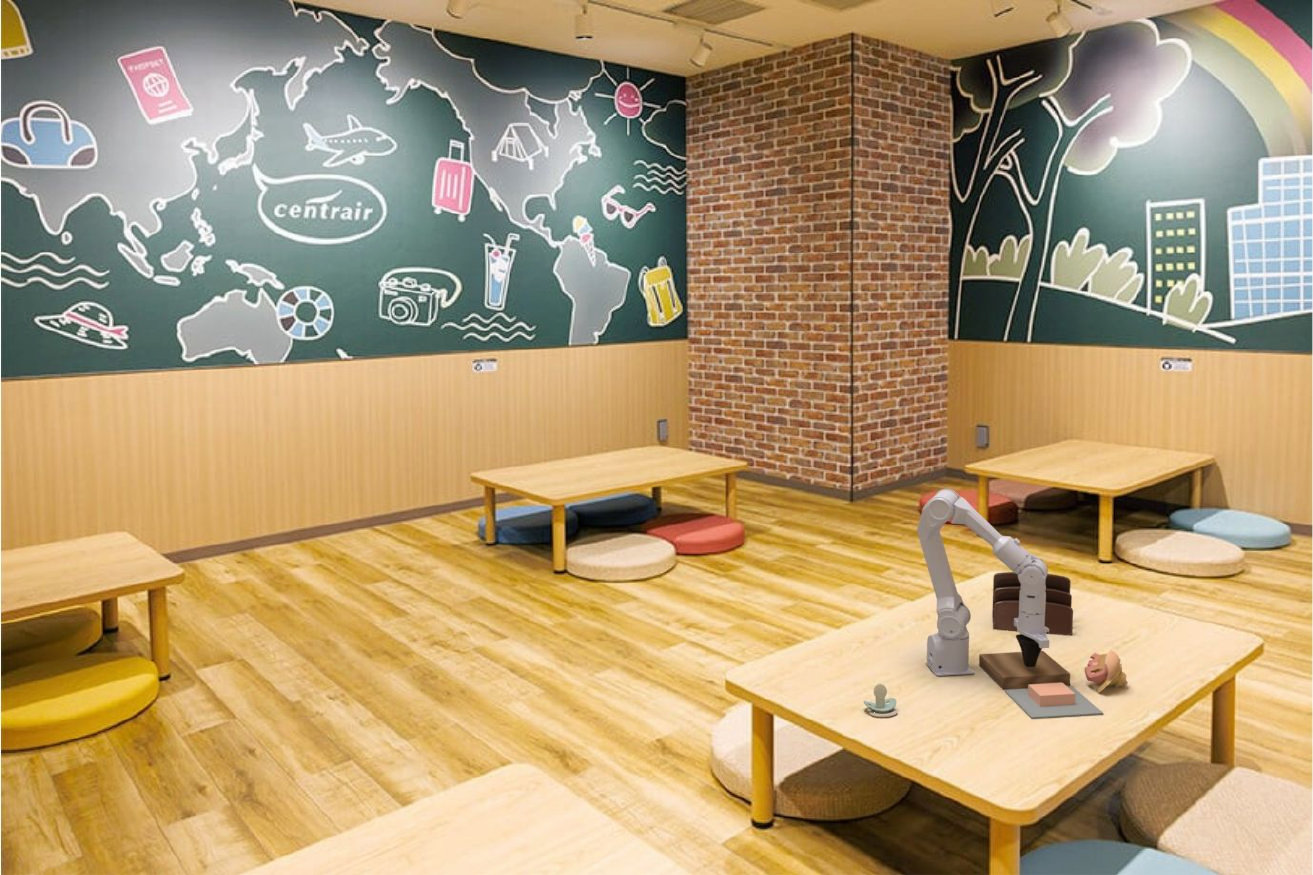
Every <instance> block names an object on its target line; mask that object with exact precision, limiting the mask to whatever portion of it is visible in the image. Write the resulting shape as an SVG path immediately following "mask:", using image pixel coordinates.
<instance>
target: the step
mask: <svg viewBox="0 0 1313 875" xmlns="http://www.w3.org/2000/svg"><path fill="white" fill-rule="evenodd" d="M978 659H979V660H978V665H979V667H980V668H981V669H982V670H983V671H984V673H986V675H988V676H989V677H990V679H992V680H993V682H994V683H995V684H997V686H999V687H1000V688H1001V689H1002V690H1003V691H1005V690H1013V689H1028V685H1029V684H1046V683H1063V684H1065V685H1066V686H1071V673H1070V672H1069V671H1068V670H1067V669H1066V668H1064V666H1062V665H1061V664H1060V663H1058V662H1057V661H1056V660H1055V659H1053V658H1052V656H1050V655H1049V654H1047V653H1046V651H1044V650H1041V652H1040V654H1039V656H1038V659H1037V663H1036V665H1035V667H1026V666H1025V665H1024V661H1023V656H1022V651H1015V652H996V653H994V652H993V653H979V658H978Z"/></svg>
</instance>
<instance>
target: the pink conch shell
mask: <svg viewBox="0 0 1313 875" xmlns="http://www.w3.org/2000/svg"><path fill="white" fill-rule="evenodd" d="M1089 658H1090V659H1091V660H1090V659H1089V660H1088V663H1087V666H1085V667H1084V675H1085V678H1086V679H1087V681H1088V682H1093V683H1094V684H1095V685H1098V687H1097V694H1099V693H1100V692H1101V691H1103V690H1104V689H1105V688H1107V687H1110V686H1113V687H1115V688H1121V686H1123V687H1125V686H1127V685H1128V683H1129V681H1127V674H1126V672H1124V671H1123V667H1122V666H1123V665H1122V663H1121V658H1120V657H1119V654H1117V653H1116V652H1115V651H1114V650H1112V649H1111V650H1109V651H1108V653H1103V654H1098V653H1097V652H1095V653H1092V655H1091V656H1090V657H1089Z"/></svg>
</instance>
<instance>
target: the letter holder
mask: <svg viewBox="0 0 1313 875" xmlns="http://www.w3.org/2000/svg"><path fill="white" fill-rule="evenodd" d="M1071 583H1072V582H1071V580H1070V578H1069V577H1067V576H1064V575H1063V576H1062V575H1058V574H1053V573H1048V574H1047V577H1046V581H1045V585H1046V590H1045V592H1046V604H1045V627H1047V628H1049V632H1046V635H1049V634H1050V635H1059V636H1060V635H1061V636H1073V627H1074V626H1073V625H1074V623H1073V622H1074V620H1073V619H1074V609H1073V608H1072V602H1073V601H1072V600H1073V597H1072V594H1071ZM1020 590H1021V583H1020V582H1019V579H1018V574H1016V573H1014V572H1013V571H1006V572H997V573H995V574H994V575H993V588H992V610H991V611H992V614H991V616H992V629H993V630H994V629H997V630H998V631H1007V630H1008V631H1009V632H1018V631H1017V627H1015V626H1014V618H1019V596H1020ZM997 630H996V631H997Z"/></svg>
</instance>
